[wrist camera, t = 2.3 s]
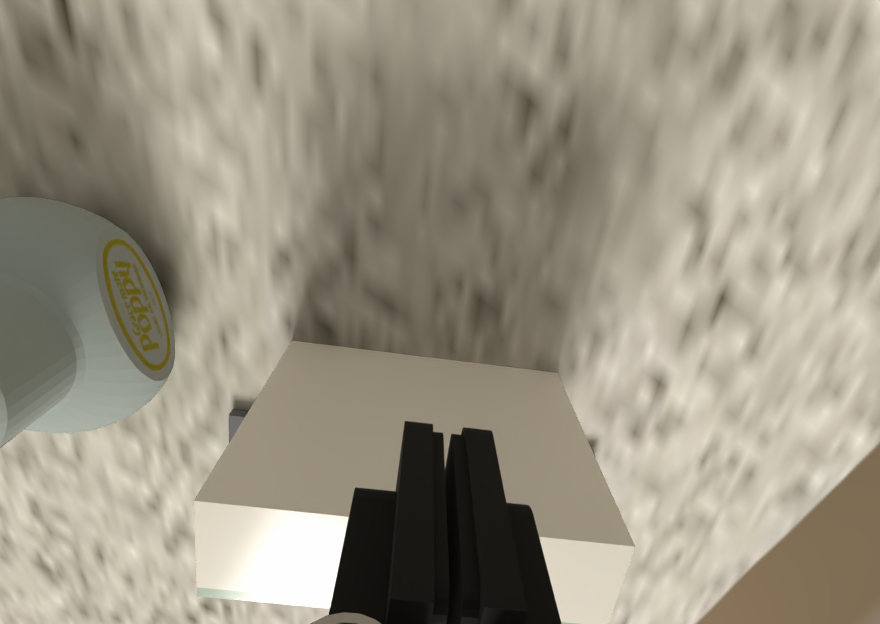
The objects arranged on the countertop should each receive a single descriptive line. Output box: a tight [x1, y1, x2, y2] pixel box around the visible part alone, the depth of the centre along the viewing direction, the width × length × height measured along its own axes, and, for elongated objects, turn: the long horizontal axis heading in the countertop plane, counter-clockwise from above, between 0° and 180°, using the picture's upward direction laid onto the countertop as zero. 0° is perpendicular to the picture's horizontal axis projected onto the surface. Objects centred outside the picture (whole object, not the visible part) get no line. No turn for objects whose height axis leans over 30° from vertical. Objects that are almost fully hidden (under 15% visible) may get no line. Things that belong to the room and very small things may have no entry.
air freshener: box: [0, 197, 175, 448], centre depth 22 cm, size 11×8×10 cm
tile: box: [194, 341, 635, 624], centre depth 23 cm, size 4×14×12 cm, turn 82°
